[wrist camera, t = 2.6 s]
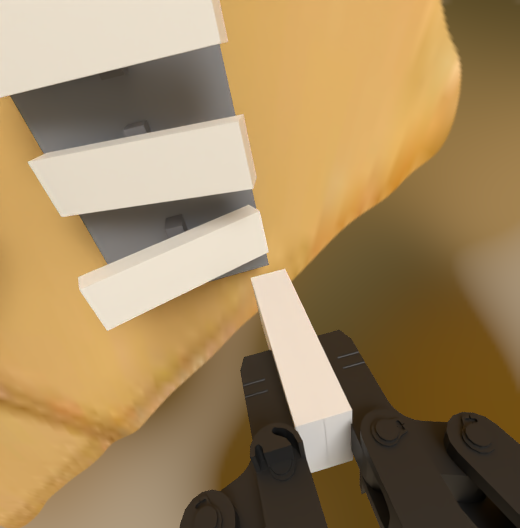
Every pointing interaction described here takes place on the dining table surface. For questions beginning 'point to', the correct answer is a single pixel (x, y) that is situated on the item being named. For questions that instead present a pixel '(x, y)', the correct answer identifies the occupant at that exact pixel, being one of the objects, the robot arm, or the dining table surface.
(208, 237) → the bar
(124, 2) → the bar
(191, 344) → the dining table surface
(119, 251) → the switch panel
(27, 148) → the dining table surface
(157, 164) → the bar
